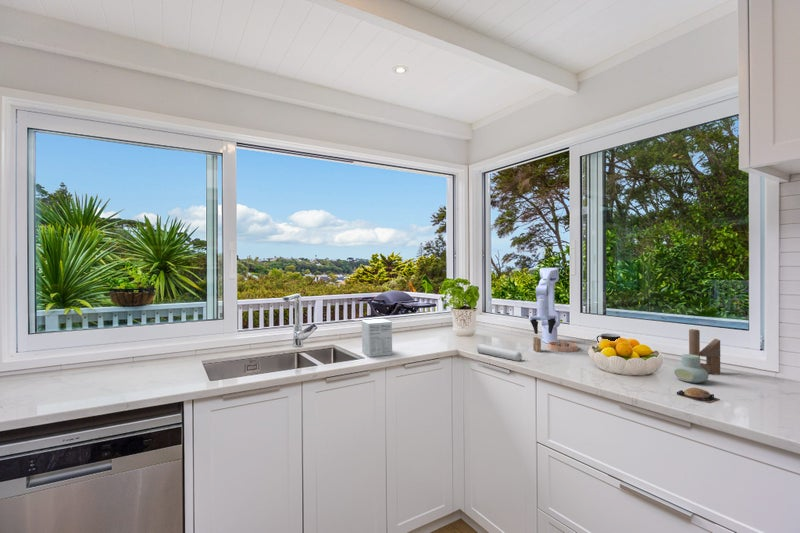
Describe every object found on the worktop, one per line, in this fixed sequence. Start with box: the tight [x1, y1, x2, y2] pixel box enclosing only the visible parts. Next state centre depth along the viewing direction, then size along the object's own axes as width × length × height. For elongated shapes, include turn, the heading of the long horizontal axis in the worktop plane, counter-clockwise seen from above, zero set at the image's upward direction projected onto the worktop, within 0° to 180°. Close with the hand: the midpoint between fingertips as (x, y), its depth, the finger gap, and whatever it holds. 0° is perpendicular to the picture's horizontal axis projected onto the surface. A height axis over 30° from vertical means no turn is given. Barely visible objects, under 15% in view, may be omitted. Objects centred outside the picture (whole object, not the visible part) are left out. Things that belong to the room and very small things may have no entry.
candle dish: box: [547, 340, 579, 353], centre depth 214 cm, size 15×15×3 cm
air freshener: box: [673, 353, 709, 384], centre depth 154 cm, size 11×8×10 cm
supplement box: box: [361, 318, 393, 358], centre depth 210 cm, size 13×13×18 cm
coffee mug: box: [596, 333, 621, 344], centre depth 200 cm, size 12×9×10 cm
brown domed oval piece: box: [676, 387, 720, 404], centre depth 137 cm, size 11×8×4 cm
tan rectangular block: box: [532, 336, 542, 353], centre depth 209 cm, size 5×2×7 cm, turn 3°
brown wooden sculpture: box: [688, 328, 721, 375], centre depth 165 cm, size 4×11×18 cm, turn 80°
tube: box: [476, 342, 523, 362], centre depth 198 cm, size 5×5×25 cm
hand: (543, 333), depth 208 cm, fingers open, 7 cm apart
